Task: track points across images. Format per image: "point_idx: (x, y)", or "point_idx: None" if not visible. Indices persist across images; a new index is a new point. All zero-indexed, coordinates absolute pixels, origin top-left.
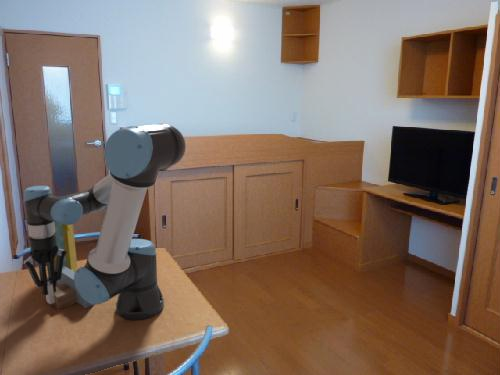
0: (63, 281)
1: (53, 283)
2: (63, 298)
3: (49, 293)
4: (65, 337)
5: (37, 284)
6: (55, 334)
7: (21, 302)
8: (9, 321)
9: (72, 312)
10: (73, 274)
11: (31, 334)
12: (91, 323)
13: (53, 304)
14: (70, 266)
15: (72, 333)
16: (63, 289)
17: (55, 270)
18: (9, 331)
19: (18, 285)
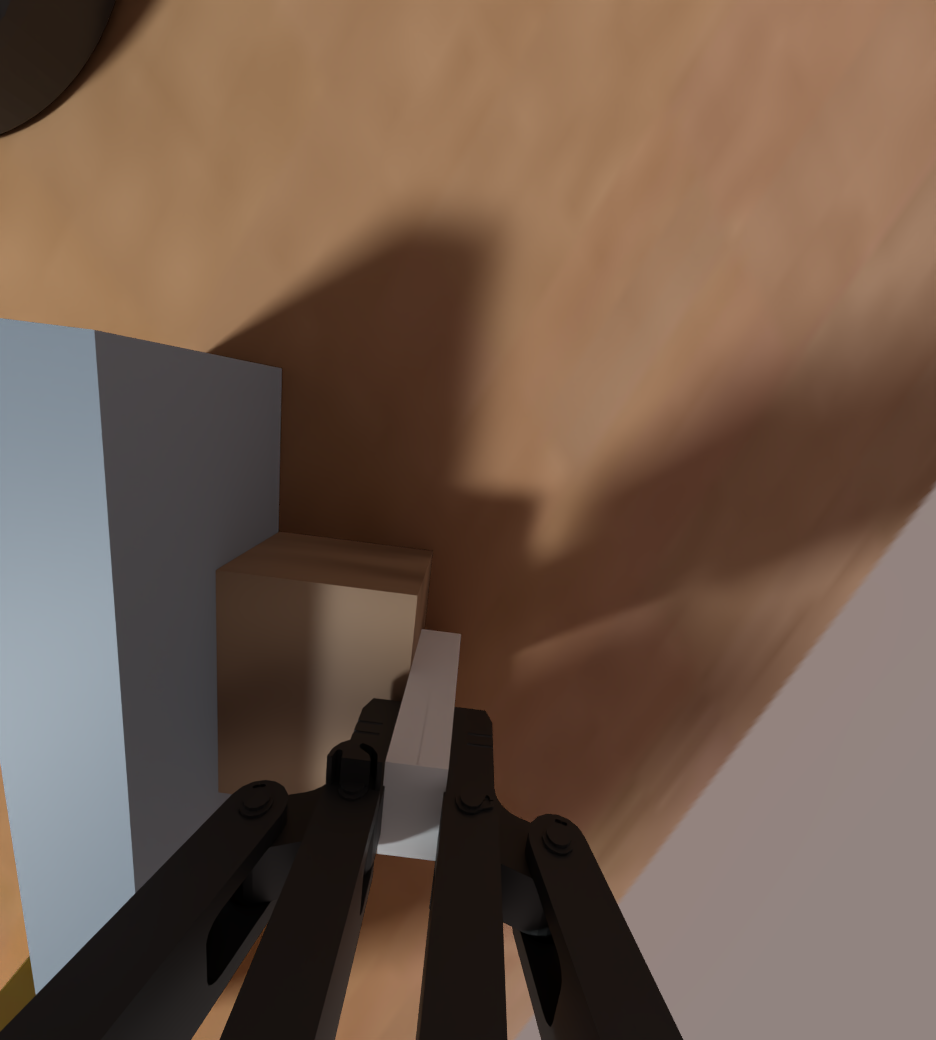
0: (211, 813)
1: (379, 758)
2: (366, 573)
3: (449, 698)
4: (679, 58)
5: (597, 865)
6: (691, 199)
7: None
8: (740, 694)
9: (393, 409)
10: (50, 785)
11: (786, 387)
12: (394, 61)
13: None
14: (8, 988)
15: (602, 63)
16: (290, 688)
17: (197, 1009)
18: (831, 572)
19: None
